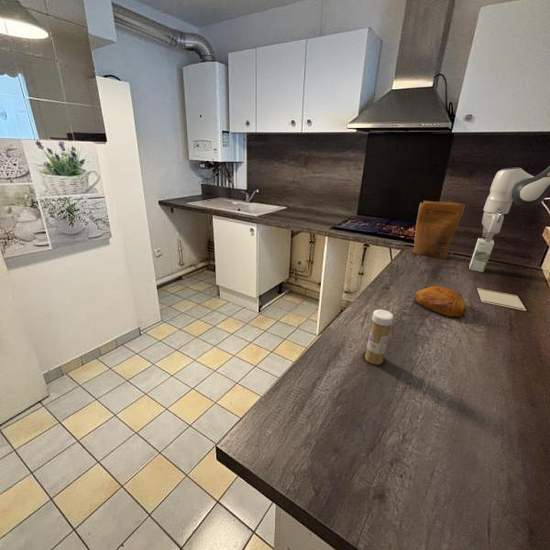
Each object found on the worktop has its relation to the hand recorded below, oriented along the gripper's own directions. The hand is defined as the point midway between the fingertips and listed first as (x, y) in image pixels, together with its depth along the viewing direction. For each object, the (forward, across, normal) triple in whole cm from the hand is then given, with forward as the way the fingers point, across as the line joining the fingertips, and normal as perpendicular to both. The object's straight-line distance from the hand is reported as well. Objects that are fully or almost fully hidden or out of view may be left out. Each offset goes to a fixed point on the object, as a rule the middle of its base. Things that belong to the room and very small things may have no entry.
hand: (485, 239), depth 129 cm
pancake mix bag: (+15, +10, +20) cm, 27 cm away
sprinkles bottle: (+15, -89, +32) cm, 96 cm away
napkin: (+15, -31, -4) cm, 35 cm away
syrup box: (+15, 0, 0) cm, 15 cm away
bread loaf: (+15, -49, +16) cm, 54 cm away
